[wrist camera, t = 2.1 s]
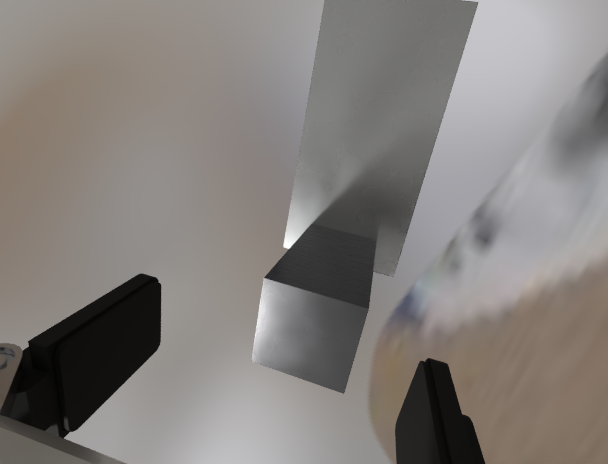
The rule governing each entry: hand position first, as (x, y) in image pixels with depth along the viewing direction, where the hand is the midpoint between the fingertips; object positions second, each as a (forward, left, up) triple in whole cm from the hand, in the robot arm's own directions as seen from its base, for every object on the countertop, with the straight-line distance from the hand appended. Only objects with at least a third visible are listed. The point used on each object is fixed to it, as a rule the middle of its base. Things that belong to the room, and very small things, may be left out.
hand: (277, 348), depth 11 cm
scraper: (+6, -1, -10) cm, 12 cm away
